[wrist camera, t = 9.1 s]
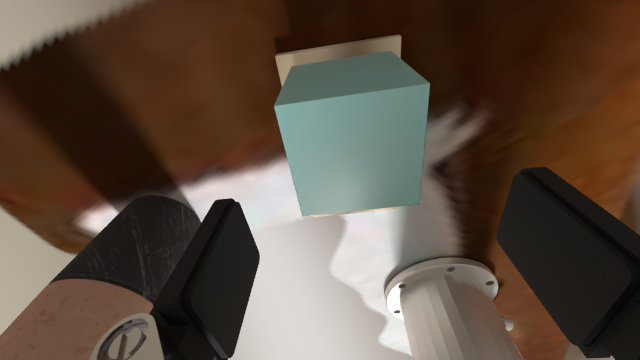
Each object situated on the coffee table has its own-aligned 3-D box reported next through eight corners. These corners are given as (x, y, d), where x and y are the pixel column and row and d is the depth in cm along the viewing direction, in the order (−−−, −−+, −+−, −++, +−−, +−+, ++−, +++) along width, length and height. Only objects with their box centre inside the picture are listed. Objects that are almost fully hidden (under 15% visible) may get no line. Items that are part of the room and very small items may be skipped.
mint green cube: (390, 50, 14) (430, 83, 9) (390, 141, 18) (419, 204, 12) (291, 66, 15) (274, 106, 10) (308, 151, 18) (302, 216, 13)
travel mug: (146, 178, 22) (-327, 668, 6) (221, 224, 26) (42, 628, 9) (110, 221, 26) (-268, 624, 9) (181, 258, 29) (-6, 606, 12)
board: (398, 34, 16) (401, 36, 15) (394, 202, 24) (396, 208, 23) (277, 53, 17) (275, 56, 16) (311, 211, 24) (311, 217, 24)
